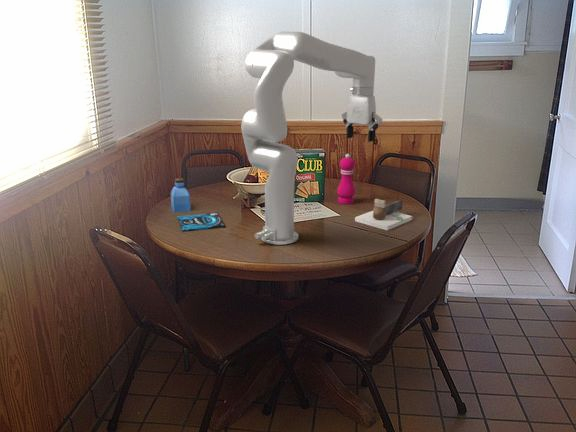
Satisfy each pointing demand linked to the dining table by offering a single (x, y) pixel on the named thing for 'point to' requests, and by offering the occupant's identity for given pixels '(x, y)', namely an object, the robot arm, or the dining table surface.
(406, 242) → the dining table surface
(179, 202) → the perfume bottle
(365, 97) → the robot arm
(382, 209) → the brown grey handled piece
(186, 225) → the guitar string package
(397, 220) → the dial board
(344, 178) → the pepper mill
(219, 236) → the dining table surface
